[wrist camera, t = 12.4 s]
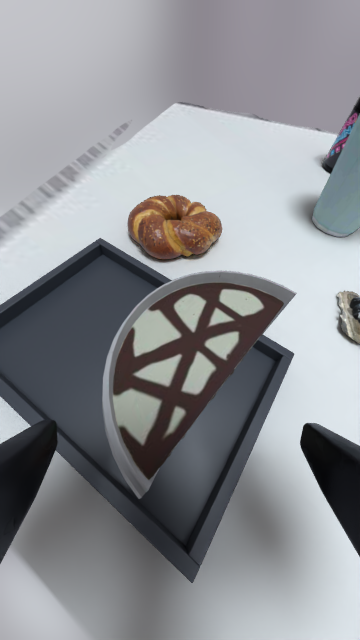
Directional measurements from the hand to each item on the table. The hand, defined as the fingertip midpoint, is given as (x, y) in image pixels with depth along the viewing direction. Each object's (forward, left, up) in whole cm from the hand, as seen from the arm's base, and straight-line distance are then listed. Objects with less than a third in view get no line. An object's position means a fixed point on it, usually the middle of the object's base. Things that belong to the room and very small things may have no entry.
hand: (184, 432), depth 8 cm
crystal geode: (+22, -10, -11) cm, 27 cm away
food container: (+4, +2, -10) cm, 11 cm away
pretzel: (+20, +14, -11) cm, 27 cm away
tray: (+4, +7, -10) cm, 13 cm away
